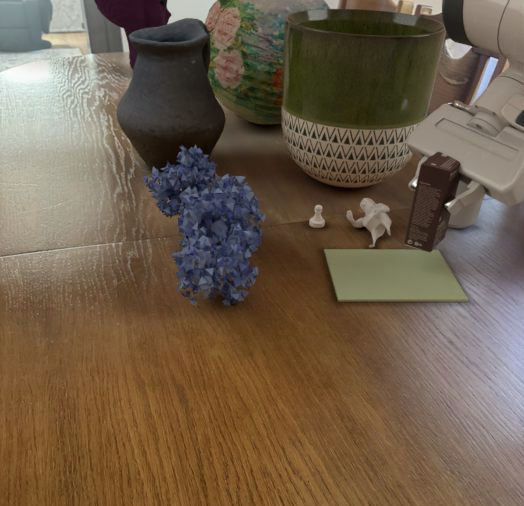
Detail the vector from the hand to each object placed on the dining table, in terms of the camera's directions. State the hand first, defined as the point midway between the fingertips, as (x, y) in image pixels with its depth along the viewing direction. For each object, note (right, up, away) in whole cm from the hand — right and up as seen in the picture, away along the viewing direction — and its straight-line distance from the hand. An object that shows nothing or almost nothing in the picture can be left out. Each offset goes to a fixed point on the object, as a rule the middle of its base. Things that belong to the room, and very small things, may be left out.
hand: (429, 200), depth 77 cm
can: (+10, +2, +20) cm, 22 cm away
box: (+1, -5, +5) cm, 7 cm away
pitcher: (-40, +16, +36) cm, 56 cm away
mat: (-4, -10, +5) cm, 11 cm away
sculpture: (-61, +63, +93) cm, 128 cm away
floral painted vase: (-22, +35, +59) cm, 72 cm away
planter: (-7, +13, +33) cm, 36 cm away
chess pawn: (-14, 0, +17) cm, 22 cm away
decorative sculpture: (-31, -8, +6) cm, 33 cm away
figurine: (-6, -1, +16) cm, 17 cm away
